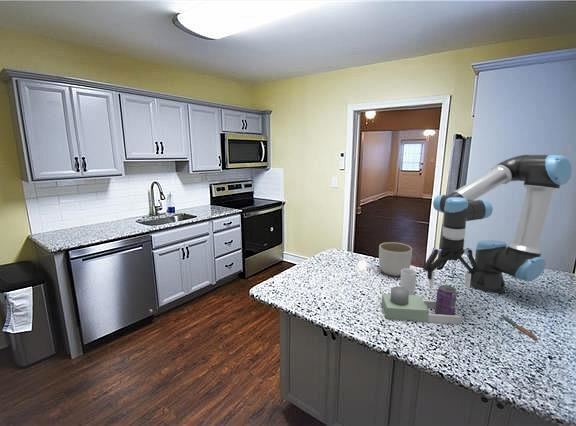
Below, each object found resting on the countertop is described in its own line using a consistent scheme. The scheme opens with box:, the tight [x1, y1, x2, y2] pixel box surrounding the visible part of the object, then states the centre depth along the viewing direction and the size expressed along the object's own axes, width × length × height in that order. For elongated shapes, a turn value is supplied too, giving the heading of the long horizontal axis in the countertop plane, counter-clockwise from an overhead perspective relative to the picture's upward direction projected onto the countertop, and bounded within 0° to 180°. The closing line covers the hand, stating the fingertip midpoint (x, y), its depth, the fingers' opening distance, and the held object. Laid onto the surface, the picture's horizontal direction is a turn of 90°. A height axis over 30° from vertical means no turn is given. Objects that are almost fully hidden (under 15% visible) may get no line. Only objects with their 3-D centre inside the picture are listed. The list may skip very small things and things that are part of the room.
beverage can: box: [434, 284, 458, 315], centre depth 118 cm, size 7×7×12 cm
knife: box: [501, 314, 538, 342], centre depth 110 cm, size 17×1×3 cm
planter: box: [378, 241, 413, 277], centre depth 159 cm, size 17×17×15 cm
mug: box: [399, 268, 418, 295], centre depth 136 cm, size 10×7×12 cm, turn 172°
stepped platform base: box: [381, 285, 462, 325], centre depth 120 cm, size 28×12×10 cm, turn 81°
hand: (448, 286), depth 117 cm, fingers open, 13 cm apart
